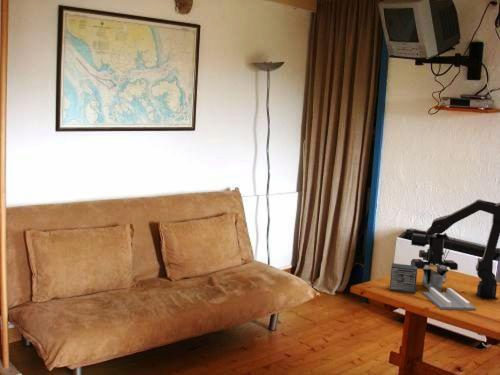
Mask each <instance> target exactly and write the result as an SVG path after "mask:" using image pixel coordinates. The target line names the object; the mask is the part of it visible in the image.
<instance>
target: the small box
mask: <svg viewBox="0 0 500 375" xmlns="http://www.w3.org/2000/svg"><path fill="white" fill-rule="evenodd" d="M390 269H391V271H390V282H389V288H388V289H389V291H391V290H393V291H392V292H394V291H395V292H401V293H408V294H416V287H417V277H418V269H417V267H416V266H412V265H411V264H403V263H402V264H401V263H395V262H393V263H391V268H390Z"/></svg>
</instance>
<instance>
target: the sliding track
mask: <svg viewBox="0 0 500 375" xmlns="http://www.w3.org/2000/svg"><path fill="white" fill-rule="evenodd" d="M428 290H429V291H422V295H423V296H424V297H426V298H427V299H428V300H429V301H430V302H431V303H433V304H434V305H435V306H436V307H437V308H438V309H440V310H442V311H443V310H444V311H445V310H446V311H447V310H449V311H450V310H451V311H453V310H454V311H476V307H475V306H474V305H473V304H471V302H470V301H469V300H468V299H465V297H463V296H462V295H460V294H459V293H458V292H457V291H455V290H454V289H452V288H451V287H447V288H446V291H445V292H442V291H441V292H438V291H437V290H436V289H434V288H433V287H430V288H429V289H428Z"/></svg>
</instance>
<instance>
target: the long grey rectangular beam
mask: <svg viewBox="0 0 500 375" xmlns="http://www.w3.org/2000/svg"><path fill="white" fill-rule="evenodd" d="M429 269H430V270H431V274H430V281H429V284H427V282H426V277H425V274H424V273H423V275H422V286H424V287H425V288H426V289H428V290H429V288H430V287H433V288H434V289H436V290H437V291H438V292H442V288H443V283H444V282H443V277H442V276H441V275H440V274H438V273H437V272H436V270H434V269H433V268H429Z"/></svg>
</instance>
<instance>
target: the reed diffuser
mask: <svg viewBox="0 0 500 375" xmlns="http://www.w3.org/2000/svg"><path fill="white" fill-rule="evenodd" d="M449 240H450V239H449ZM449 240H447V243H446V242H445V241H446V240H445V239H444V243H446V247H445V245H444V246H443V250H444V247H445V250H444V251H445V252H444V255H442V262H444V261H445V260H447V256H448V254H449V252H450V250H451V248H452V247H453V244H454V242H455V240H456V238H454V239H453V240H452V243H451V245H450V247H449V249H448V252H447V253H446V251H447V247H448V245H449ZM435 269H436V270H435V272H437V268H435ZM447 273H448V272H446V273H445V274H444V275H443V276H442V277H443V282H442V283H445V282H446V279H447Z"/></svg>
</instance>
